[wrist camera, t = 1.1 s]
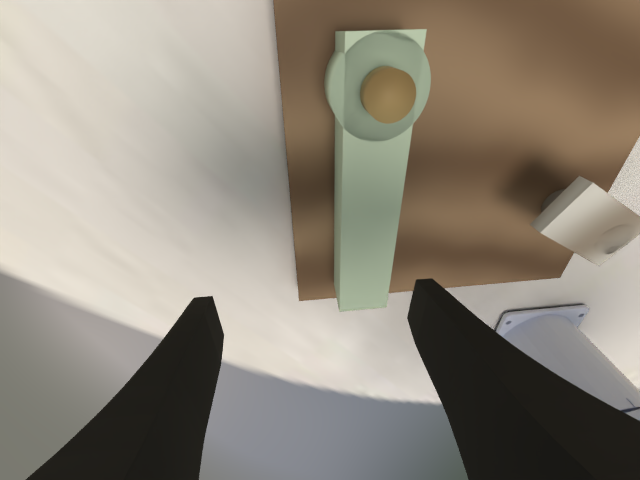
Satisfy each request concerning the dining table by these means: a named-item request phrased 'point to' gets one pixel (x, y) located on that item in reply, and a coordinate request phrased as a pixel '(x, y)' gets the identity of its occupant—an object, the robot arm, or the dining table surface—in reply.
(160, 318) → the dining table surface
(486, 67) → the board
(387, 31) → the link
